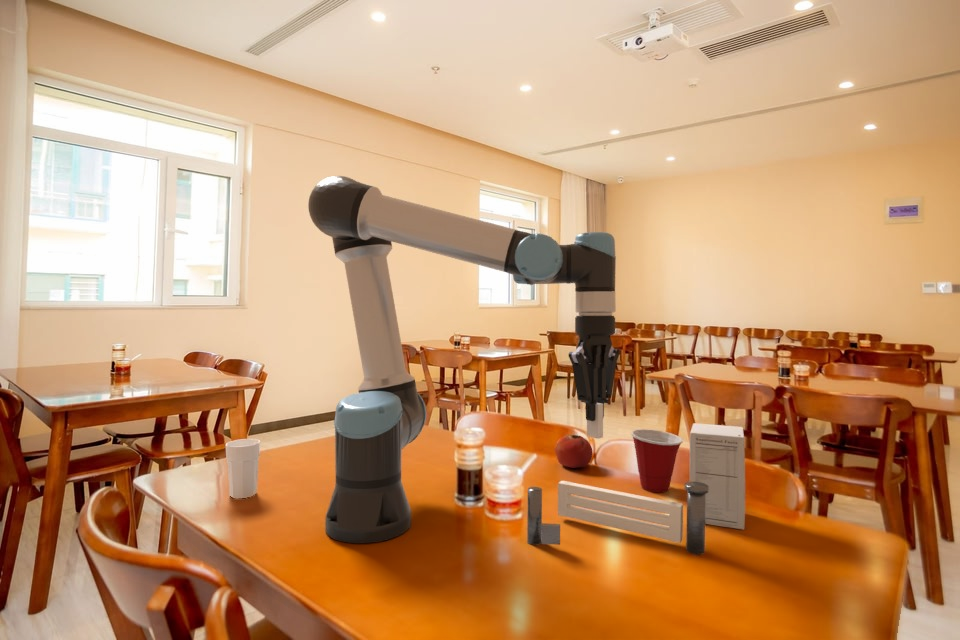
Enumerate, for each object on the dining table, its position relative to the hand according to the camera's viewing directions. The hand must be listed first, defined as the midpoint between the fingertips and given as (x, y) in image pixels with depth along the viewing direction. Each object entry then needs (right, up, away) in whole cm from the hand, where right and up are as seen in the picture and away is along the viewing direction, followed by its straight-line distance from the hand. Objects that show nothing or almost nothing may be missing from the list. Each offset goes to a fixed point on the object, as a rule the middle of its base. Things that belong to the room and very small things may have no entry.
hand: (594, 436), depth 103 cm
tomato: (+1, -14, +30) cm, 33 cm away
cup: (-72, -14, +9) cm, 74 cm away
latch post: (-12, -15, -14) cm, 23 cm away
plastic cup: (+16, -15, +14) cm, 26 cm away
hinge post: (+13, -15, -16) cm, 25 cm away
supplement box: (+23, -15, -2) cm, 27 cm away
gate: (+2, -14, -9) cm, 17 cm away
